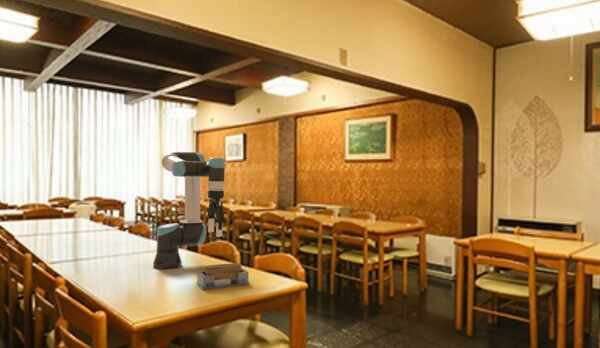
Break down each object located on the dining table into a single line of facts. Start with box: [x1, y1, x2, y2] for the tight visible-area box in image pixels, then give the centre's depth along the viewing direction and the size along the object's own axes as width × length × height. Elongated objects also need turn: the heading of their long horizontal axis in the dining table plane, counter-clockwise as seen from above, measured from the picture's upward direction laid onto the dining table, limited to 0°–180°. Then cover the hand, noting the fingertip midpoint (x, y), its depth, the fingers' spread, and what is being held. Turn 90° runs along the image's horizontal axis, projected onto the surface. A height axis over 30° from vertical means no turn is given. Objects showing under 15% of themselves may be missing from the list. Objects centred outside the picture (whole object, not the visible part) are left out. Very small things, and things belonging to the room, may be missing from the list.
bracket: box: [196, 266, 250, 291], centre depth 186 cm, size 11×22×6 cm, turn 118°
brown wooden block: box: [204, 262, 242, 280], centre depth 186 cm, size 5×16×6 cm, turn 113°
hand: (215, 234), depth 191 cm, fingers open, 13 cm apart
